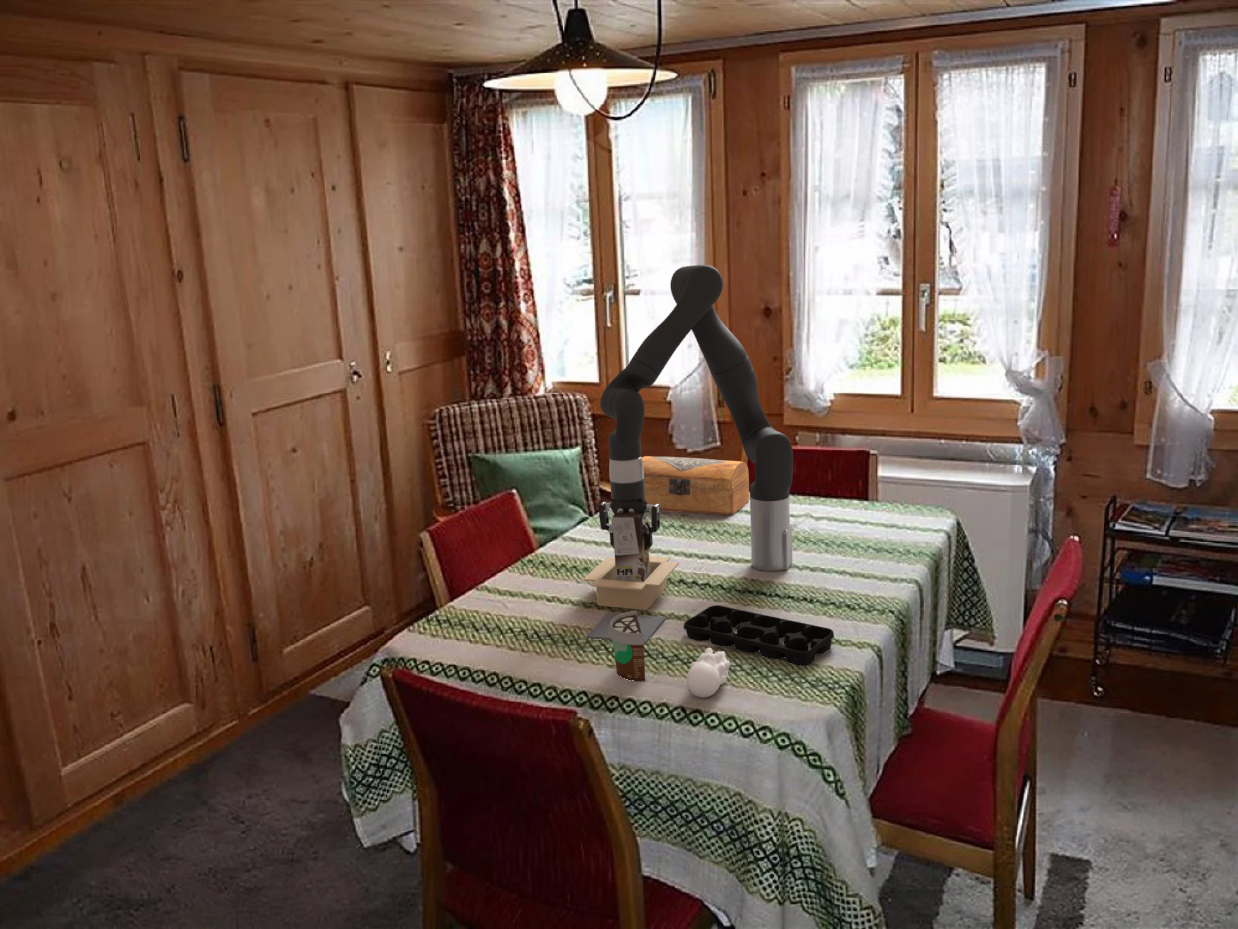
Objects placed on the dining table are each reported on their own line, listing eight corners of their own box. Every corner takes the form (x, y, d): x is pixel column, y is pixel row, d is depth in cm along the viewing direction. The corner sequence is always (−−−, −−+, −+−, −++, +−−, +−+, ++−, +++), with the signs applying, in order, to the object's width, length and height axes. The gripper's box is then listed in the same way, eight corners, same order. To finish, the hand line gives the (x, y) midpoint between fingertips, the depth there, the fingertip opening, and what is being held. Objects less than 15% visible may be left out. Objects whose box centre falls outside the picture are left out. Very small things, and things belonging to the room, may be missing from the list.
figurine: (671, 686, 192) (692, 655, 203) (697, 713, 192) (717, 680, 203) (697, 665, 189) (717, 634, 200) (723, 692, 189) (742, 660, 199)
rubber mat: (665, 620, 229) (665, 617, 229) (645, 644, 217) (645, 641, 217) (608, 615, 233) (608, 612, 233) (586, 638, 222) (585, 635, 221)
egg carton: (819, 672, 201) (819, 653, 201) (671, 651, 214) (670, 633, 213) (842, 636, 217) (842, 619, 216) (703, 619, 230) (702, 602, 229)
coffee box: (644, 586, 238) (639, 516, 234) (615, 586, 239) (610, 516, 235) (651, 572, 246) (647, 504, 242) (623, 572, 248) (619, 504, 244)
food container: (608, 660, 211) (605, 612, 208) (639, 657, 211) (636, 609, 209) (613, 687, 199) (610, 637, 197) (646, 684, 199) (643, 634, 197)
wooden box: (632, 510, 310) (629, 463, 307) (654, 495, 324) (652, 450, 321) (731, 518, 297) (729, 469, 294) (750, 502, 312) (749, 455, 308)
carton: (683, 582, 250) (682, 558, 249) (655, 616, 231) (654, 589, 230) (612, 577, 256) (611, 553, 255) (580, 609, 237) (578, 583, 236)
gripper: (663, 473, 238) (667, 544, 242) (602, 471, 243) (607, 541, 247) (652, 482, 231) (657, 555, 235) (590, 480, 236) (595, 552, 240)
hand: (631, 548), depth 241 cm, fingers closed on coffee box, 7 cm apart
